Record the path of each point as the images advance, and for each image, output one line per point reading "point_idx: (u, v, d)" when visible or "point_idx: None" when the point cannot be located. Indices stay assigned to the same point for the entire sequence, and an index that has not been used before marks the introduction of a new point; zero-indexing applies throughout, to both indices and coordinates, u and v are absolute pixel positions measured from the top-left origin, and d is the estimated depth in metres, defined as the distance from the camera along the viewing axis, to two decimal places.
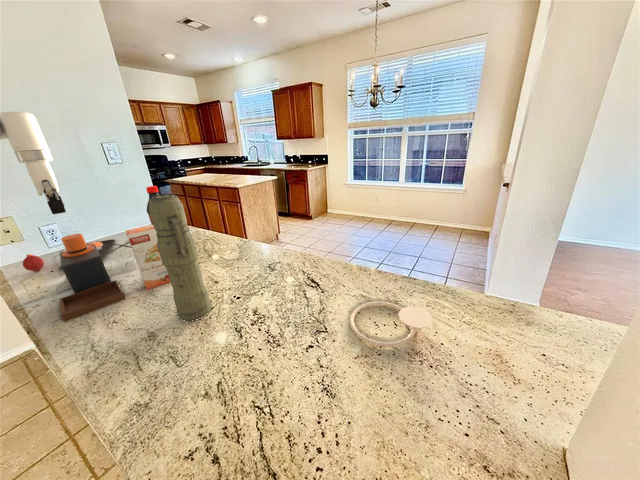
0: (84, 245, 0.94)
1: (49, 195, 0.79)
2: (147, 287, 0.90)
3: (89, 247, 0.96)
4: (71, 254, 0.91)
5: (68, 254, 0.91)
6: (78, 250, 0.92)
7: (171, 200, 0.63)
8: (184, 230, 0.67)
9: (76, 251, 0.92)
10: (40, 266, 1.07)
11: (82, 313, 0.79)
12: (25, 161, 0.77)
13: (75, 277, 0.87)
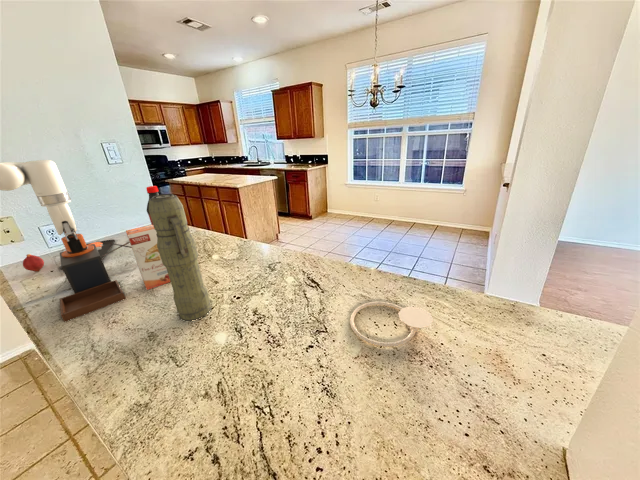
0: (84, 245, 0.94)
1: (69, 237, 0.87)
2: (147, 287, 0.90)
3: (89, 247, 0.96)
4: (71, 254, 0.91)
5: (68, 254, 0.91)
6: None
7: (171, 200, 0.63)
8: (184, 230, 0.67)
9: None
10: (40, 266, 1.07)
11: (82, 313, 0.79)
12: (47, 205, 0.84)
13: (75, 277, 0.87)
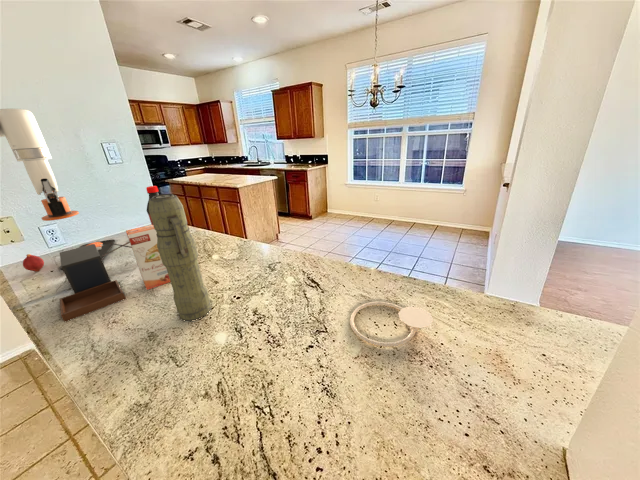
0: (67, 209, 0.86)
1: (50, 196, 0.79)
2: (147, 287, 0.90)
3: (73, 212, 0.88)
4: (52, 217, 0.83)
5: (49, 217, 0.83)
6: None
7: (171, 200, 0.63)
8: (184, 230, 0.67)
9: None
10: (40, 266, 1.07)
11: (82, 313, 0.79)
12: (24, 160, 0.76)
13: (75, 277, 0.87)
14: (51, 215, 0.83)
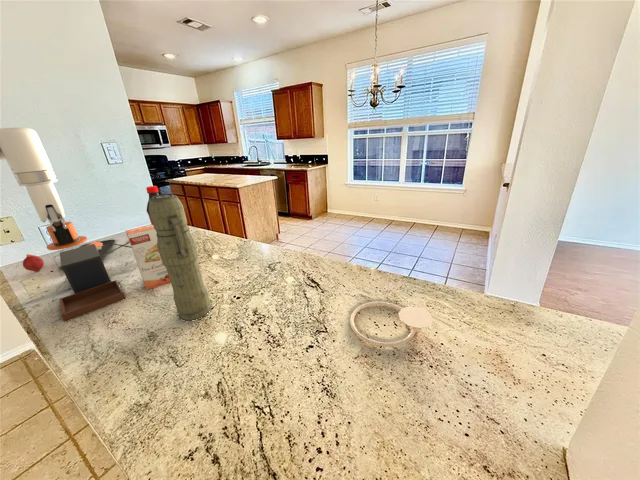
0: (75, 236, 0.77)
1: (55, 224, 0.70)
2: (147, 287, 0.90)
3: (81, 238, 0.79)
4: (58, 246, 0.74)
5: (55, 246, 0.74)
6: None
7: (171, 200, 0.63)
8: (184, 230, 0.67)
9: None
10: (40, 266, 1.07)
11: (82, 313, 0.79)
12: (26, 185, 0.67)
13: (75, 277, 0.87)
14: (57, 243, 0.75)
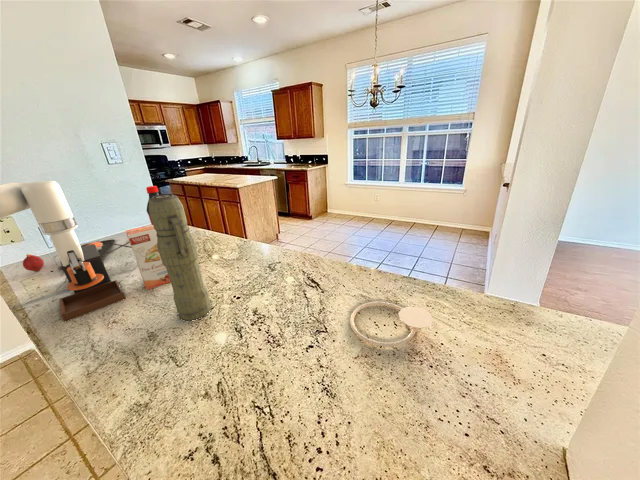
0: (93, 275, 0.82)
1: (76, 268, 0.76)
2: (147, 287, 0.90)
3: (98, 277, 0.84)
4: (78, 287, 0.79)
5: (75, 287, 0.79)
6: None
7: (171, 200, 0.63)
8: (184, 230, 0.67)
9: None
10: (40, 266, 1.07)
11: (82, 313, 0.79)
12: (50, 233, 0.72)
13: None
14: (77, 284, 0.80)
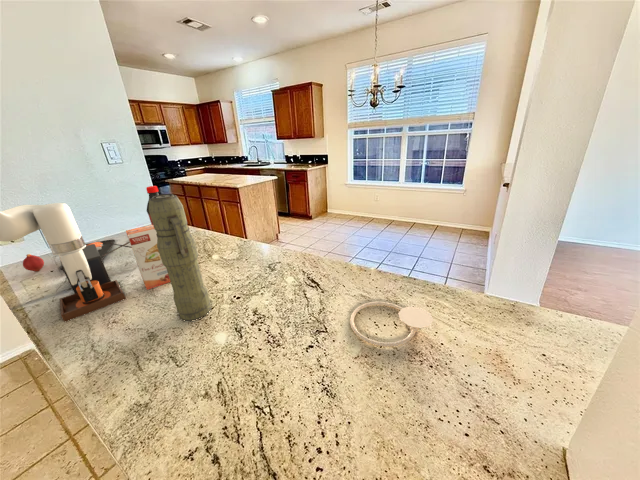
0: (101, 294, 0.85)
1: (83, 286, 0.77)
2: (147, 287, 0.90)
3: (106, 295, 0.87)
4: None
5: (83, 305, 0.82)
6: (94, 300, 0.83)
7: (171, 200, 0.63)
8: (184, 230, 0.67)
9: (92, 301, 0.83)
10: (40, 266, 1.07)
11: (82, 313, 0.79)
12: (60, 254, 0.75)
13: None
14: (85, 302, 0.82)
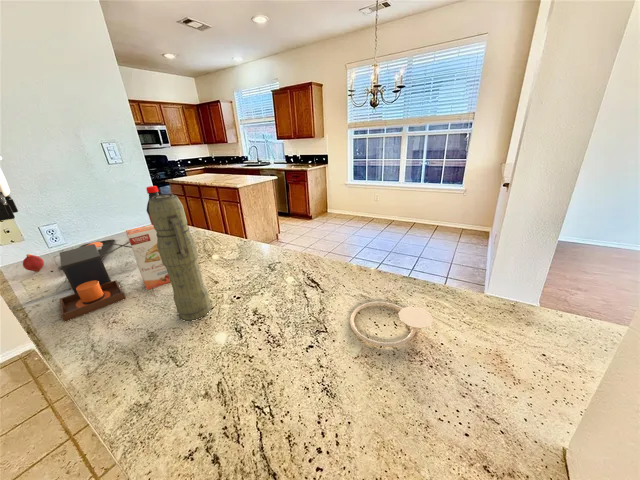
0: (101, 294, 0.85)
1: None
2: (147, 287, 0.90)
3: (106, 295, 0.87)
4: None
5: (83, 305, 0.82)
6: (94, 300, 0.83)
7: (171, 200, 0.63)
8: (184, 230, 0.67)
9: (92, 301, 0.83)
10: (40, 266, 1.07)
11: (82, 313, 0.79)
12: None
13: (75, 277, 0.87)
14: (85, 302, 0.82)
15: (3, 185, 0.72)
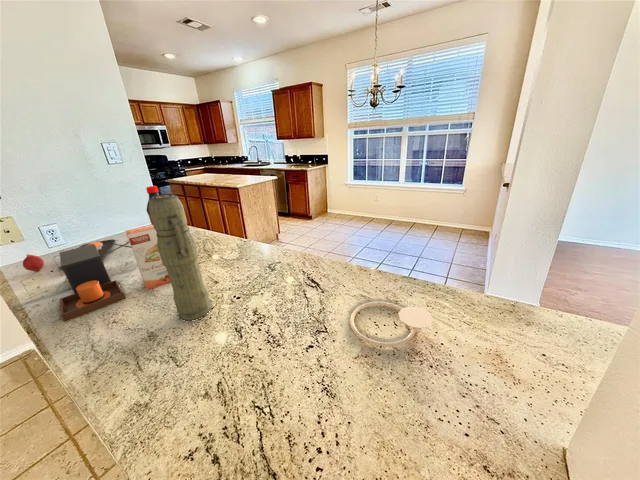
0: (101, 294, 0.85)
1: None
2: (147, 287, 0.90)
3: (106, 295, 0.87)
4: None
5: (83, 305, 0.82)
6: (94, 300, 0.83)
7: (171, 200, 0.63)
8: (184, 230, 0.67)
9: (92, 301, 0.83)
10: (40, 266, 1.07)
11: (82, 313, 0.79)
12: None
13: (75, 277, 0.87)
14: (85, 302, 0.82)
15: None
